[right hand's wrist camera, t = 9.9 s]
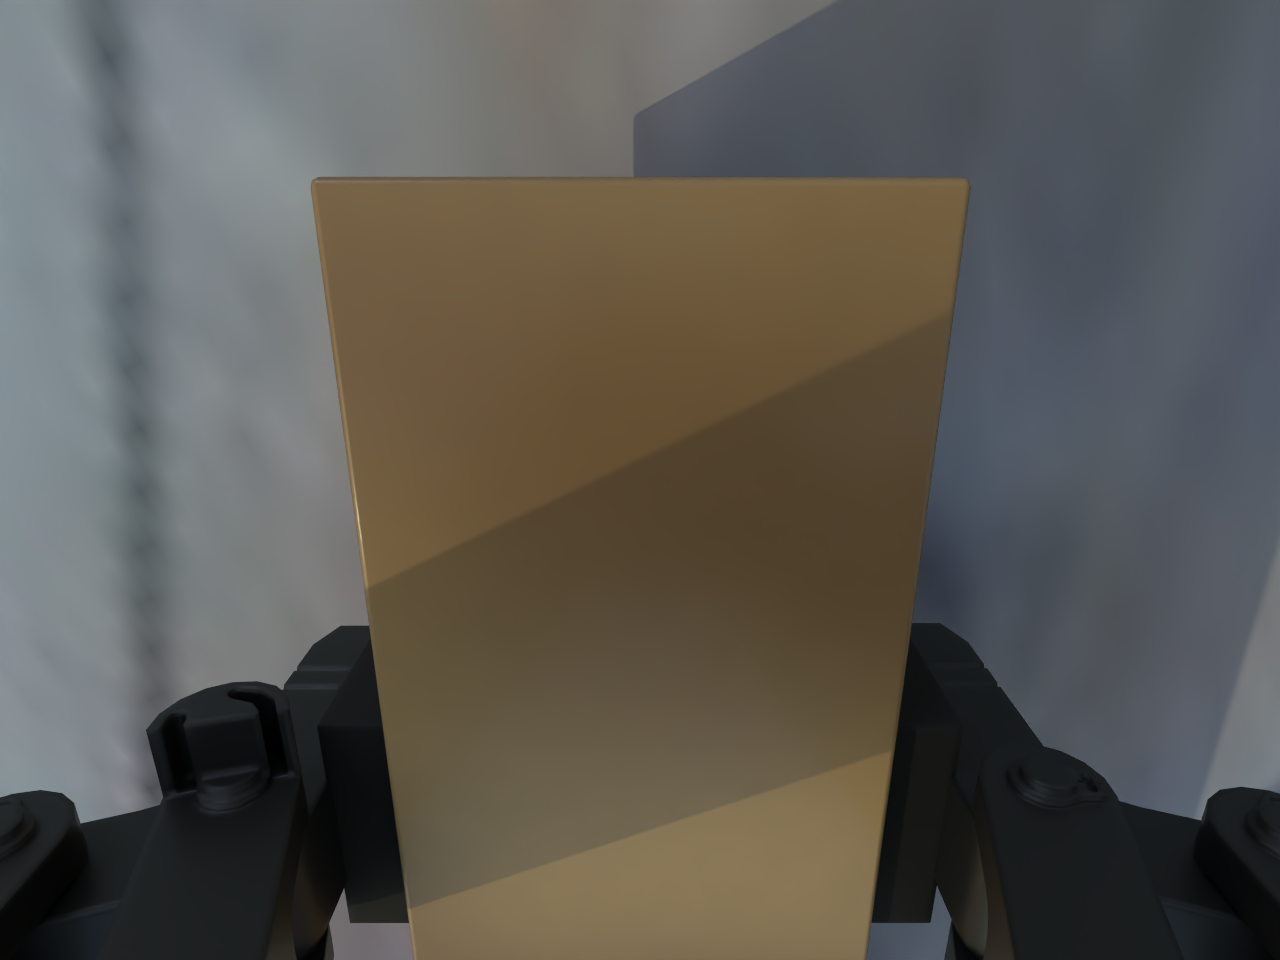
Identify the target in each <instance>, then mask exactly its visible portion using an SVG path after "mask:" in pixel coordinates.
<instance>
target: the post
mask: <svg viewBox="0 0 1280 960" xmlns="http://www.w3.org/2000/svg"><path fill="white" fill-rule="evenodd" d="M311 193H312V201H313V208H314V216H315V223H316V231H317V238H318V246H319V253H320V261H321V268H322V276H323V283H324V291H325V298H326V306H327V313H328V321H329V328H330V335H331V343H332V350H333V358H334V365H335V373H336V380H337V388H338V395H339V403H340V410H341V418H342V425H343V433H344V440H345V448H346V455H347V463H348V470H349V478H350V485H351V492H352V500H353V507H354V515H355V522H356V530H357V537H358V545H359V552H360V560H361V567H362V575H363V582H364V590H365V597H366V605H367V612H368V620H369V627H370V635H371V642H372V650H373V657H374V664H375V672H376V679H377V687H378V694H379V702H380V709H381V717H382V724H383V732H384V739H385V747H386V754H387V762H388V769H389V777H390V784H391V792H392V799H393V807H394V814H395V822H396V829H397V836H398V844H399V851H400V859H401V866H402V874H403V881H404V889H405V896H406V904H407V911H408V919H409V926H410V934H411V941H412V949H413V956H414V960H866V958H867V951H868V944H869V936H870V929H871V921H872V914H873V907H874V899H875V892H876V884H877V877H878V869H879V862H880V855H881V847H882V840H883V832H884V825H885V818H886V810H887V803H888V795H889V788H890V781H891V773H892V766H893V758H894V751H895V743H896V736H897V729H898V721H899V714H900V706H901V699H902V692H903V684H904V677H905V669H906V662H907V655H908V647H909V640H910V632H911V625H912V618H913V610H914V603H915V595H916V588H917V580H918V573H919V566H920V558H921V551H922V543H923V536H924V529H925V521H926V514H927V506H928V499H929V492H930V484H931V477H932V469H933V462H934V454H935V447H936V440H937V432H938V425H939V417H940V410H941V403H942V395H943V388H944V380H945V373H946V366H947V358H948V351H949V343H950V336H951V329H952V321H953V314H954V306H955V299H956V291H957V284H958V277H959V269H960V262H961V254H962V247H963V240H964V232H965V225H966V217H967V210H968V203H969V195H970V182H969V180H967V179H965V178H963V177H318V178H316V179H314V180H312V183H311Z"/></svg>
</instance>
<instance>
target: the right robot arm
mask: <svg viewBox="0 0 1280 960" xmlns="http://www.w3.org/2000/svg"><path fill="white" fill-rule="evenodd" d="M146 732H147V736H148V739H149V743H150V747H151V751H152V755H153V759H154V763H155V766H156V770H157V774H158V778H159V782H160V786H161V790H162V793H163V799H162V801H161V804H160V805H158V806H155V807H151V808H148V809H144V810H140V811H136V812H131V813H127V814H122V815H118V816H113V817H109V818H104V819H100V820H95V821H91V822H86V823H82V824H80V821H79V817H78V814H77V811H76V808H75V805H74V803H73V802H72V801H71V800H70V799H69V798H67V797H66V796H65V795H64V794H62V793H57V792H50V791H43V790H38V791H31V792H23V793H16V794H11V795H8V796H5V797H1V798H0V960H334V951H333V944H332V937H331V932H330V926H329V922H330V920H331V917H332V915H333V912H334V910H335V908H336V905H337V903H338V901H339V898H340V896H341V894H342V891H343V889H345V895H346V900H347V906H348V912H349V918H350V923H409V919H408V911H407V904H406V896H405V889H404V881H403V874H402V866H401V859H400V851H399V844H398V836H397V829H396V822H395V814H394V807H393V799H392V792H391V784H390V777H389V769H388V762H387V754H386V747H385V739H384V732H383V724H382V717H381V709H380V702H379V694H378V687H377V679H376V672H375V664H374V657H373V650H372V642H371V635H370V627H369V626H340V627H338V628H337V629H335V630H334V631H333V632H331V633H330V634H328V635H327V636H325V637H324V638H322V639H321V640H319V641H318V642H316V643H315V644H314V645H313V646H312V647H311V648H310V650H309V651H308V653H307V654H306V655H305V657H304V658H303V660H302V661H301V662H300V664H299V665H298V667H297V671H294V672H293V673H292V675H291V676H290V678H289V679H288V680H287V682H286V683H285V685H284V690H281V689H279V688H278V687H277V686H274V685H270V684H266V683H262V682H257V681H256V682H232V683H228V684H224V685H219V686H215V687H211V688H206V689H204V690H202V691H199V692H197V693H194V694H192V695H190V696H187V697H185V698H183V699H180V700H179V701H177V702H176V703H175V704H173V705H172V706H170V707H169V708H167V709H166V710H164V711H163V712H161V713H160V714H159V715H158V716H157V717H156V719H155V720H154V721H153V722H152V723H151V725H150V726H149V727H148V728H147V730H146ZM936 886H938V888H939V891H940V893H941V895H942V898H943V900H944V902H945V905H946V907H947V909H948V912H949V914H950V916H951V919H952V921H951V926H950V932H949V937H948V943H947V948H946V954H945V959H944V960H1280V794H1279V793H1275V792H1272V791H1268V790H1261V789H1253V788H1246V787H1237V788H1230V789H1223V790H1219V791H1218V792H1217V793H1215V794H1214V795H1213V796H1212V797H1210V798H1209V799H1208V801H1207V804H1206V807H1205V810H1204V813H1203V817H1202V820H1196V819H1192V818H1187V817H1183V816H1178V815H1173V814H1169V813H1164V812H1160V811H1155V810H1151V809H1146V808H1142V807H1138V806H1134V805H1131V804H1127V803H1124V802H1120V801H1119V800H1118V798H1117V795H1116V794H1115V793H1114V791H1113V790H1112V788H1111V787H1110V785H1109V784H1108V783H1107V781H1106V780H1105V778H1103V777H1102V776H1101V775H1100V774H1098V773H1097V772H1096V771H1095V770H1093V769H1092V768H1091V767H1089V766H1088V765H1087V764H1086V763H1084V762H1082V761H1080V760H1078V759H1076V758H1074V757H1072V756H1070V755H1068V754H1066V753H1063V752H1061V751H1059V750H1055V749H1051V748H1047V747H1044V746H1043V745H1042V744H1041V742H1040V741H1039V739H1038V738H1037V737H1036V735H1035V734H1034V733H1033V731H1032V730H1031V728H1030V727H1029V726H1028V724H1027V723H1026V722H1025V720H1024V719H1023V717H1022V716H1021V715H1020V713H1019V712H1018V711H1017V709H1016V708H1015V706H1014V705H1013V704H1012V702H1011V701H1010V700H1009V698H1008V697H1007V695H1006V694H1005V693H1004V691H1003V690H1002V688H1001V687H997V682H996V680H995V679H994V677H993V676H992V675H991V673H990V672H989V671H988V669H984V664H983V662H982V661H981V660H980V658H979V657H978V655H977V654H976V653H975V651H974V650H973V649H972V647H971V646H970V644H969V643H968V642H967V641H965V640H964V639H962V638H961V637H960V636H958V635H957V634H955V633H954V632H952V631H951V630H949V629H948V628H946V627H945V626H943V625H942V624H940V623H912V625H911V632H910V640H909V647H908V655H907V662H906V669H905V677H904V684H903V692H902V699H901V706H900V714H899V721H898V729H897V736H896V743H895V751H894V758H893V766H892V773H891V781H890V788H889V795H888V803H887V810H886V818H885V825H884V832H883V840H882V847H881V855H880V862H879V869H878V877H877V884H876V892H875V899H874V907H873V914H872V921H871V923H930V921H931V916H932V910H933V904H934V898H935V892H936Z"/></svg>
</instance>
